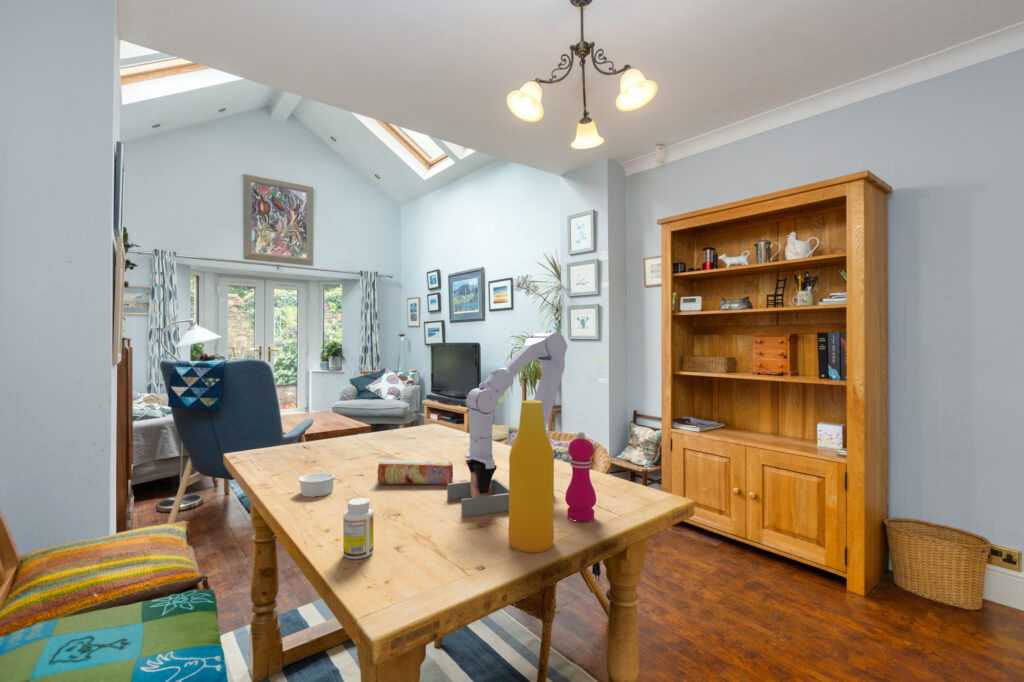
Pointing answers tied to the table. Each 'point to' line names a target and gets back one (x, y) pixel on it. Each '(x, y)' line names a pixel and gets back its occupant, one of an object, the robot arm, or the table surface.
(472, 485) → the block
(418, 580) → the table surface
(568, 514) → the pepper mill
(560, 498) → the table surface
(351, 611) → the table surface
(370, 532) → the supplement bottle
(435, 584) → the table surface
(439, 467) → the snack package
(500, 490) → the open side box
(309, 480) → the ramekin
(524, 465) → the beer bottle
